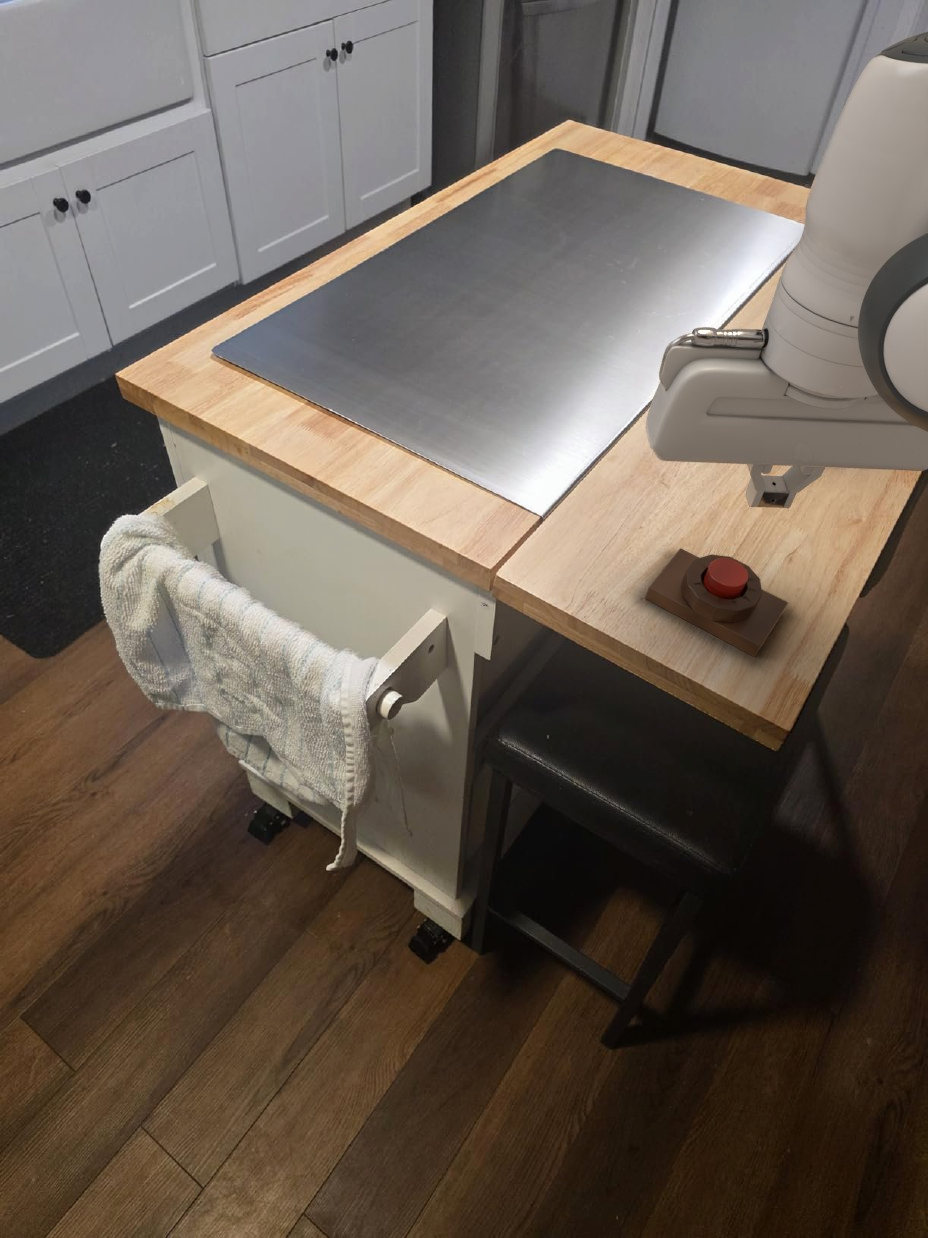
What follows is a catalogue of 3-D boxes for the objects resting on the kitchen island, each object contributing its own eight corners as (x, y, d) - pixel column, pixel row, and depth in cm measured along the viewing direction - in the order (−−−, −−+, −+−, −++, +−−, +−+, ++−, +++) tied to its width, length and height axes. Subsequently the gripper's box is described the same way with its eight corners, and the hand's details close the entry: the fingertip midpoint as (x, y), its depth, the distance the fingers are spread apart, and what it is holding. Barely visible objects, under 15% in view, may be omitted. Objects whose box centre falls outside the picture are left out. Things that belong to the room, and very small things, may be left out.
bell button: (748, 582, 72) (754, 569, 70) (732, 605, 70) (738, 592, 69) (713, 564, 73) (718, 551, 72) (696, 587, 71) (702, 573, 70)
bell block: (782, 612, 73) (795, 588, 71) (754, 657, 70) (766, 633, 68) (676, 558, 77) (685, 534, 74) (644, 598, 73) (652, 574, 71)
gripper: (679, 355, 51) (632, 526, 62) (1016, 370, 52) (913, 536, 63) (663, 299, 56) (621, 469, 66) (975, 314, 56) (885, 479, 67)
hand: (766, 502), depth 64 cm, fingers closed
